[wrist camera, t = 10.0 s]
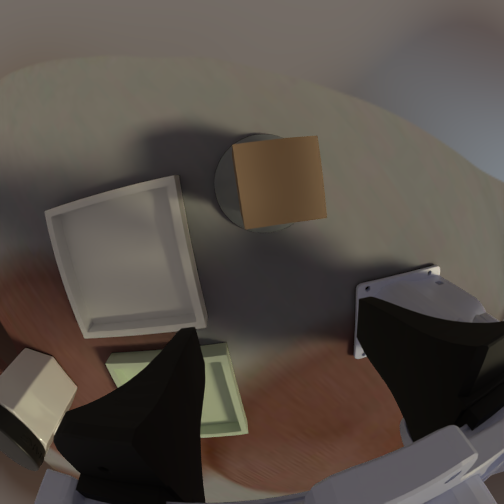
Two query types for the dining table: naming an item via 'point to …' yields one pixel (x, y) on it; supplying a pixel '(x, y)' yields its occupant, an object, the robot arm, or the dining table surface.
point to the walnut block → (279, 181)
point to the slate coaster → (228, 188)
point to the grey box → (128, 260)
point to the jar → (32, 406)
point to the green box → (215, 395)
